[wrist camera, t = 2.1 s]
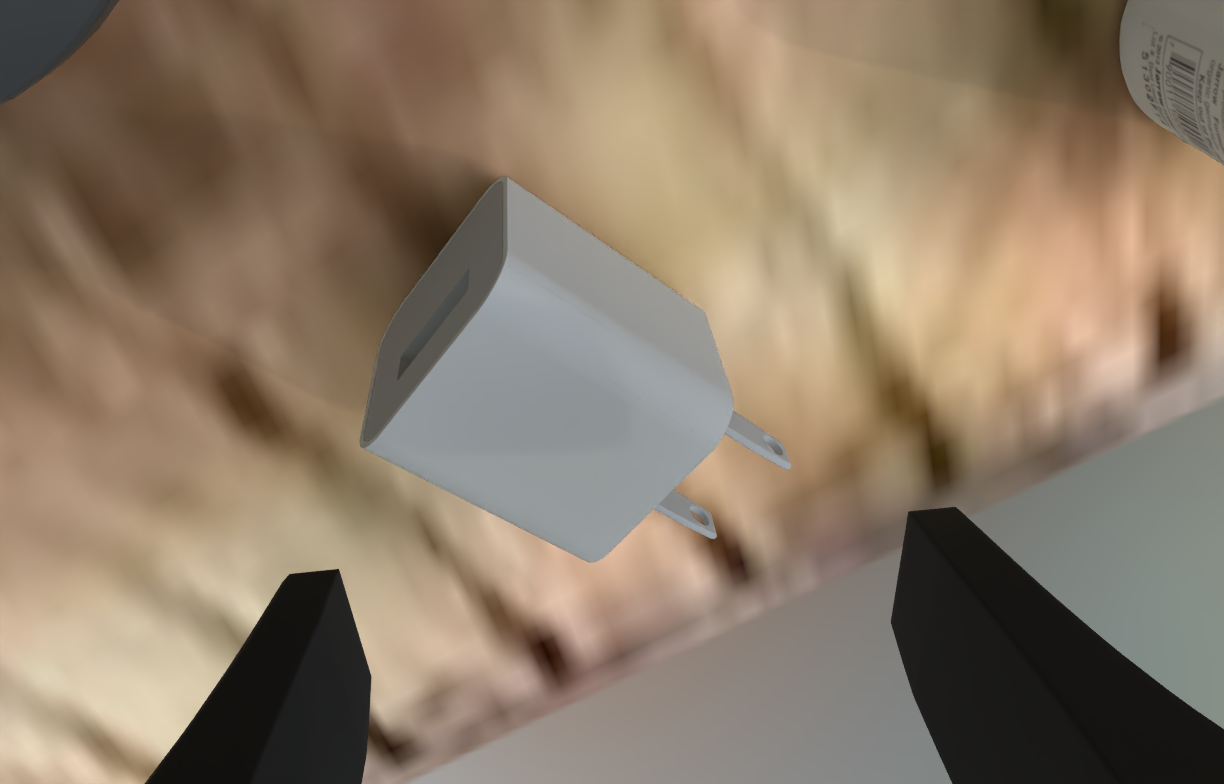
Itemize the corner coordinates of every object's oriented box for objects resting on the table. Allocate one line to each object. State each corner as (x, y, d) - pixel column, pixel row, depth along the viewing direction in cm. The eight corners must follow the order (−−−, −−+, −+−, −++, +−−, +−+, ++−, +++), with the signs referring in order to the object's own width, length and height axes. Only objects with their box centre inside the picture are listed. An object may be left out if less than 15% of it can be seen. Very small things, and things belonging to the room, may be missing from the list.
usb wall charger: (507, 162, 16) (507, 274, 13) (796, 362, 19) (857, 494, 16) (382, 329, 18) (354, 467, 15) (666, 491, 21) (696, 636, 18)
